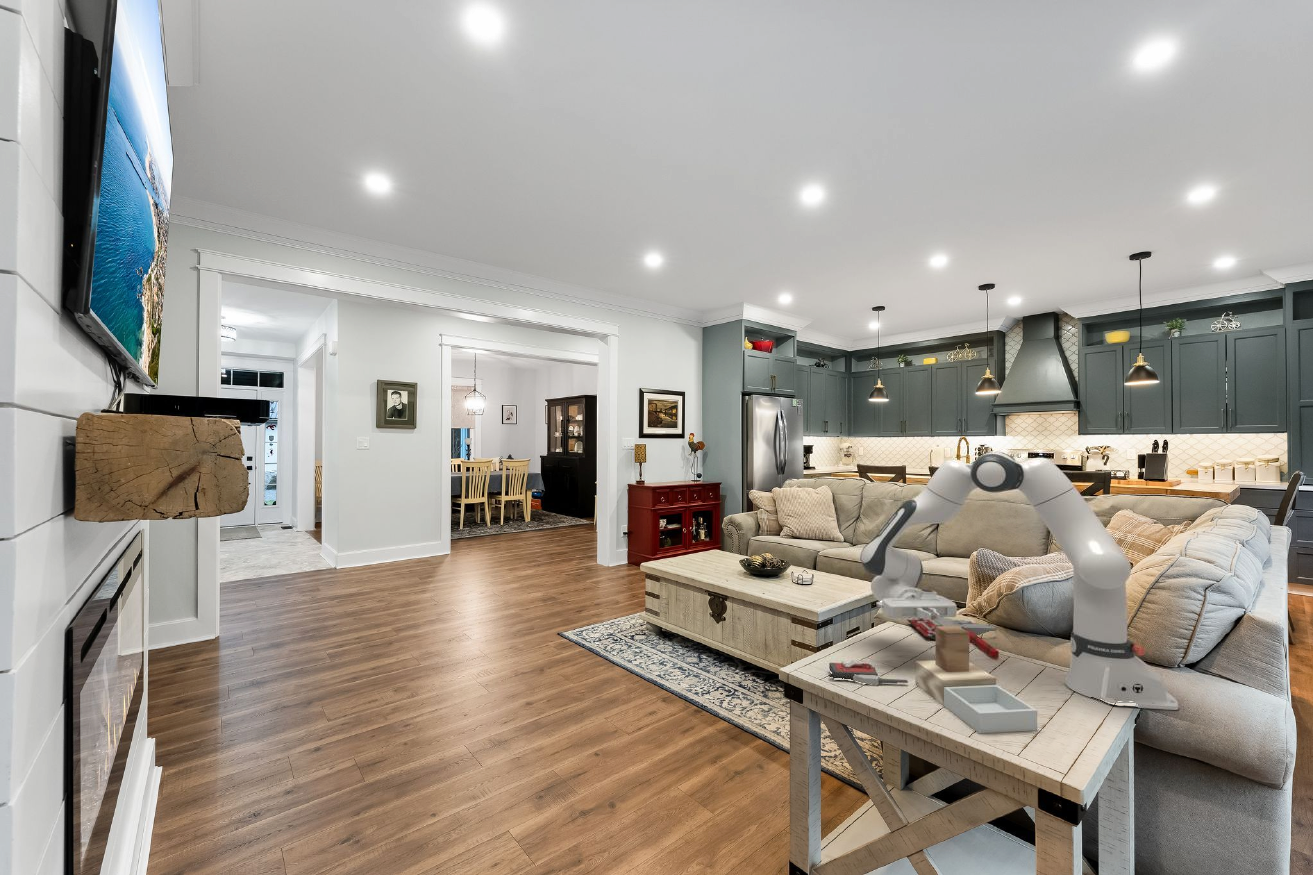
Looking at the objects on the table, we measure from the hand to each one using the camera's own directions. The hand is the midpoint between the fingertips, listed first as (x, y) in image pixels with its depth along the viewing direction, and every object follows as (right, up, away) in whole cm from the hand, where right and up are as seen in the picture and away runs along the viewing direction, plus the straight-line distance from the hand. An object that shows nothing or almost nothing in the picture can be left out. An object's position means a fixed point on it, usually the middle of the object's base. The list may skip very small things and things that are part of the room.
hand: (934, 617), depth 155 cm
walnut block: (+1, -11, -7) cm, 13 cm away
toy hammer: (+23, -17, +29) cm, 41 cm away
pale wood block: (+1, -17, -8) cm, 19 cm away
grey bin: (+3, -17, -21) cm, 27 cm away
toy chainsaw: (-19, -17, 0) cm, 25 cm away
